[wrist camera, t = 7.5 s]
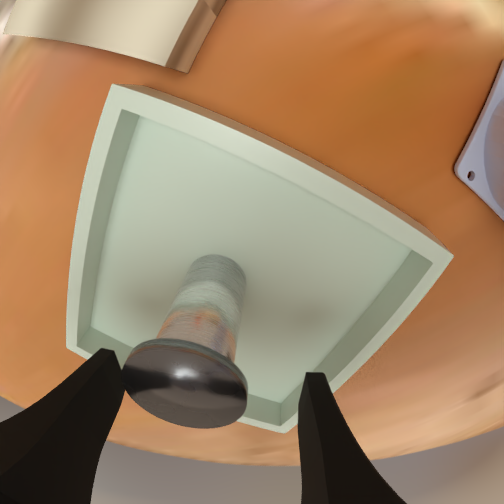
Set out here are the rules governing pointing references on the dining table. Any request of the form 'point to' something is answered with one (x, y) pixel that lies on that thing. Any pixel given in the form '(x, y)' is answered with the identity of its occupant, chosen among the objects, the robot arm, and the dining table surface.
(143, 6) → the pin block
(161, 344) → the steel pin
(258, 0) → the dining table surface
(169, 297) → the tray
